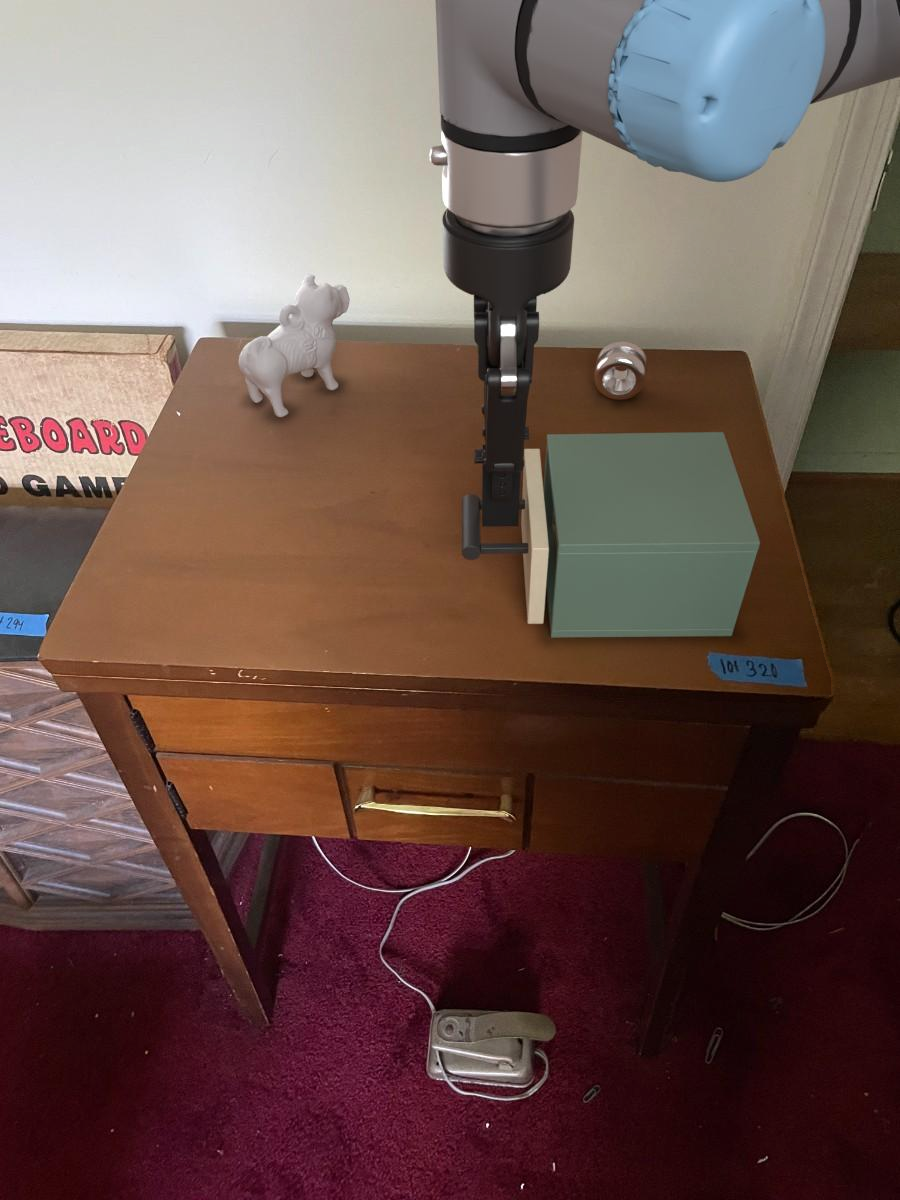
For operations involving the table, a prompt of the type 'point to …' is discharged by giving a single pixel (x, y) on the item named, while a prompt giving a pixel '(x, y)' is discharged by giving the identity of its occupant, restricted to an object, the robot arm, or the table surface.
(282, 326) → the dog figurine
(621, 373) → the metal grooved wheel
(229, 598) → the table surface
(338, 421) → the table surface
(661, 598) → the cabinet
